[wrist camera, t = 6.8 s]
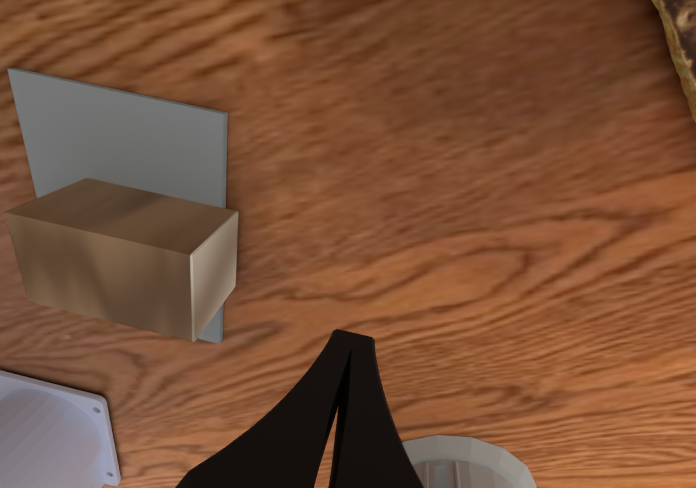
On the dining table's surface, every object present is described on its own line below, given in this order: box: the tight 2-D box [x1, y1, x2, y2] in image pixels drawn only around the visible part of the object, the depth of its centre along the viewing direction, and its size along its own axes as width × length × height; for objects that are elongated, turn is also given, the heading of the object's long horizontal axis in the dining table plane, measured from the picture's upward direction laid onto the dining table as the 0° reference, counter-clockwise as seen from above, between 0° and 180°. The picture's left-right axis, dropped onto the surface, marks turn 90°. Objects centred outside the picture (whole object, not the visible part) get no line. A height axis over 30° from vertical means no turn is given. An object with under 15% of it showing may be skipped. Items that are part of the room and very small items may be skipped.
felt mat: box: [8, 68, 228, 344], centre depth 18 cm, size 12×9×1 cm
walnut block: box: [4, 178, 239, 342], centre depth 16 cm, size 4×4×7 cm
